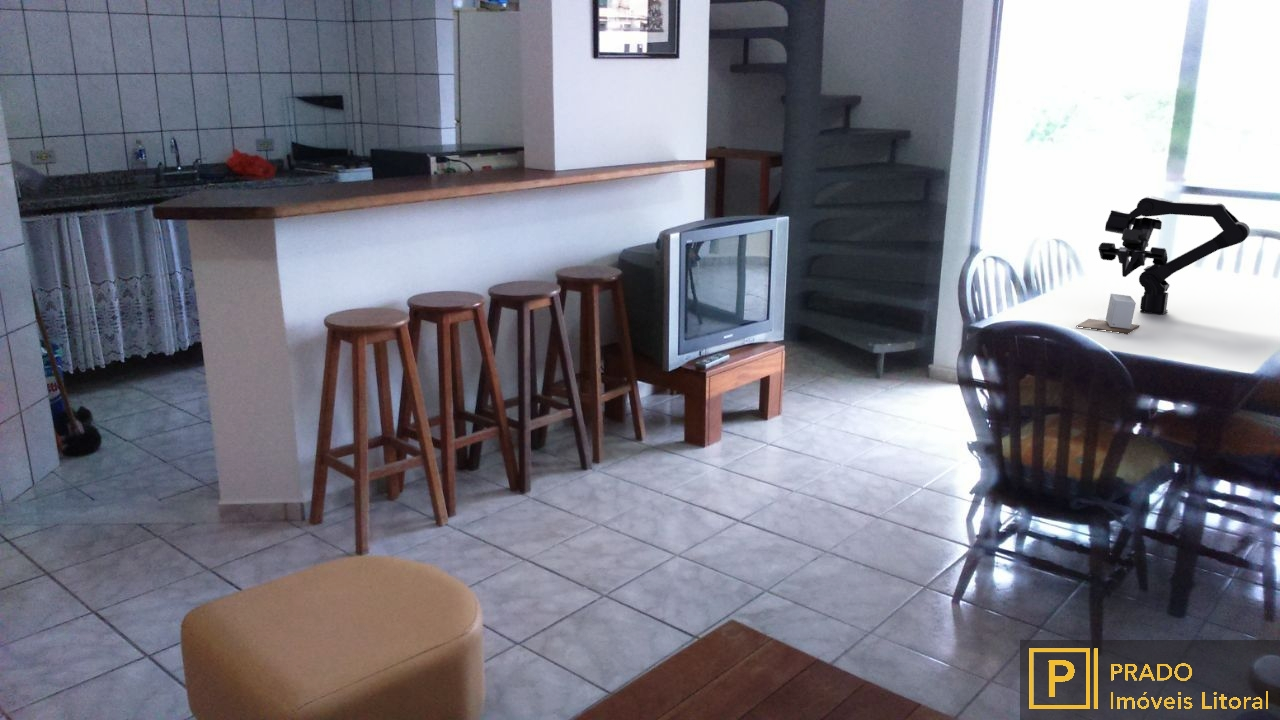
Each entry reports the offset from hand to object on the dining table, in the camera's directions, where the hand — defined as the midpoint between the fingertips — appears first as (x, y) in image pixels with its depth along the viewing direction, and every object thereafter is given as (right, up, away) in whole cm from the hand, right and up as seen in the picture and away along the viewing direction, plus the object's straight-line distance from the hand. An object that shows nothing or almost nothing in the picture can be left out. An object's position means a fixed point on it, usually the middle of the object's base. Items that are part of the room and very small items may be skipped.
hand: (1123, 275), depth 299 cm
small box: (-5, -10, -6) cm, 13 cm away
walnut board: (-10, -16, -11) cm, 22 cm away
